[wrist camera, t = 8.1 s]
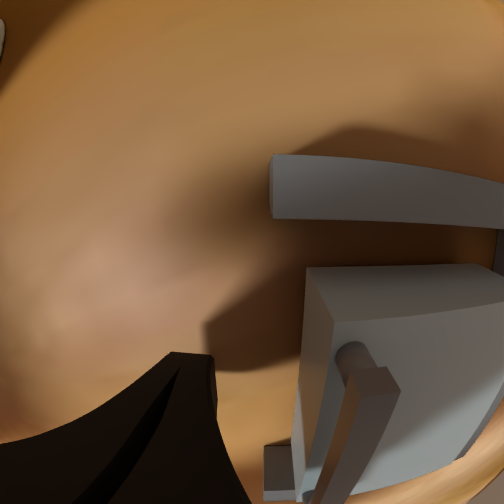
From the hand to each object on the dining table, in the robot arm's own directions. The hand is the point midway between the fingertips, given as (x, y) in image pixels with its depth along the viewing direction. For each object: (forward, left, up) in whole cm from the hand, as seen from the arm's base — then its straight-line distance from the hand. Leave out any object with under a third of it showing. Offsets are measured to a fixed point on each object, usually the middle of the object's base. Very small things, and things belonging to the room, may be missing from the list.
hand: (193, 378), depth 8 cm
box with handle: (0, -6, -1) cm, 6 cm away
